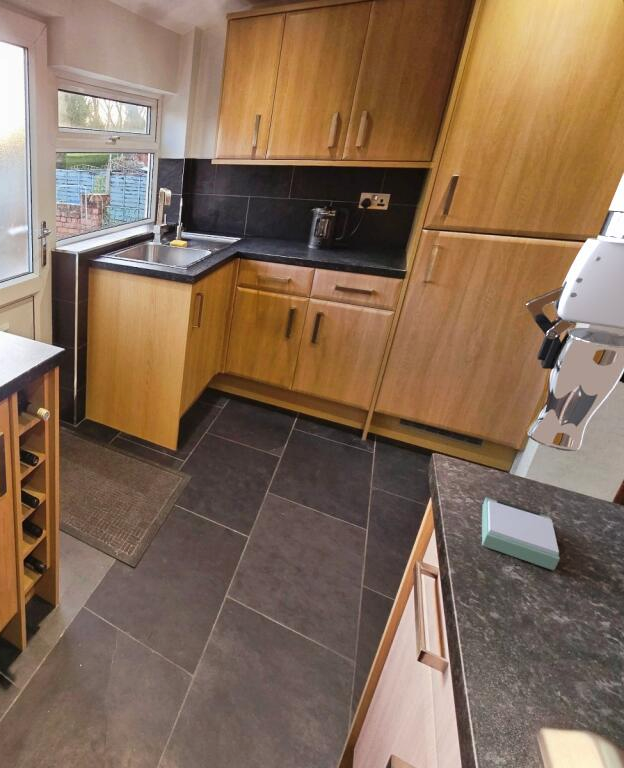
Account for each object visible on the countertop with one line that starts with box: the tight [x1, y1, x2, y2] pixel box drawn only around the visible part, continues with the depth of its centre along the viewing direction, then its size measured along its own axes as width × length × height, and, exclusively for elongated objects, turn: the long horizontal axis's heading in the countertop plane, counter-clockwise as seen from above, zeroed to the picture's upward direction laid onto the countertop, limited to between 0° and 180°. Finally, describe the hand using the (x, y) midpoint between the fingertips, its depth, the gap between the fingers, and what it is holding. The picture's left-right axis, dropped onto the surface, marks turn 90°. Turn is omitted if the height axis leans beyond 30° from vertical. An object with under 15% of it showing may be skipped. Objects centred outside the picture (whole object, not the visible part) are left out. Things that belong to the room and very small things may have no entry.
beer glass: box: [525, 327, 624, 452], centre depth 65 cm, size 7×7×15 cm
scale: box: [481, 497, 561, 571], centre depth 72 cm, size 11×8×3 cm
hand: (582, 372), depth 64 cm, fingers closed on beer glass, 7 cm apart
